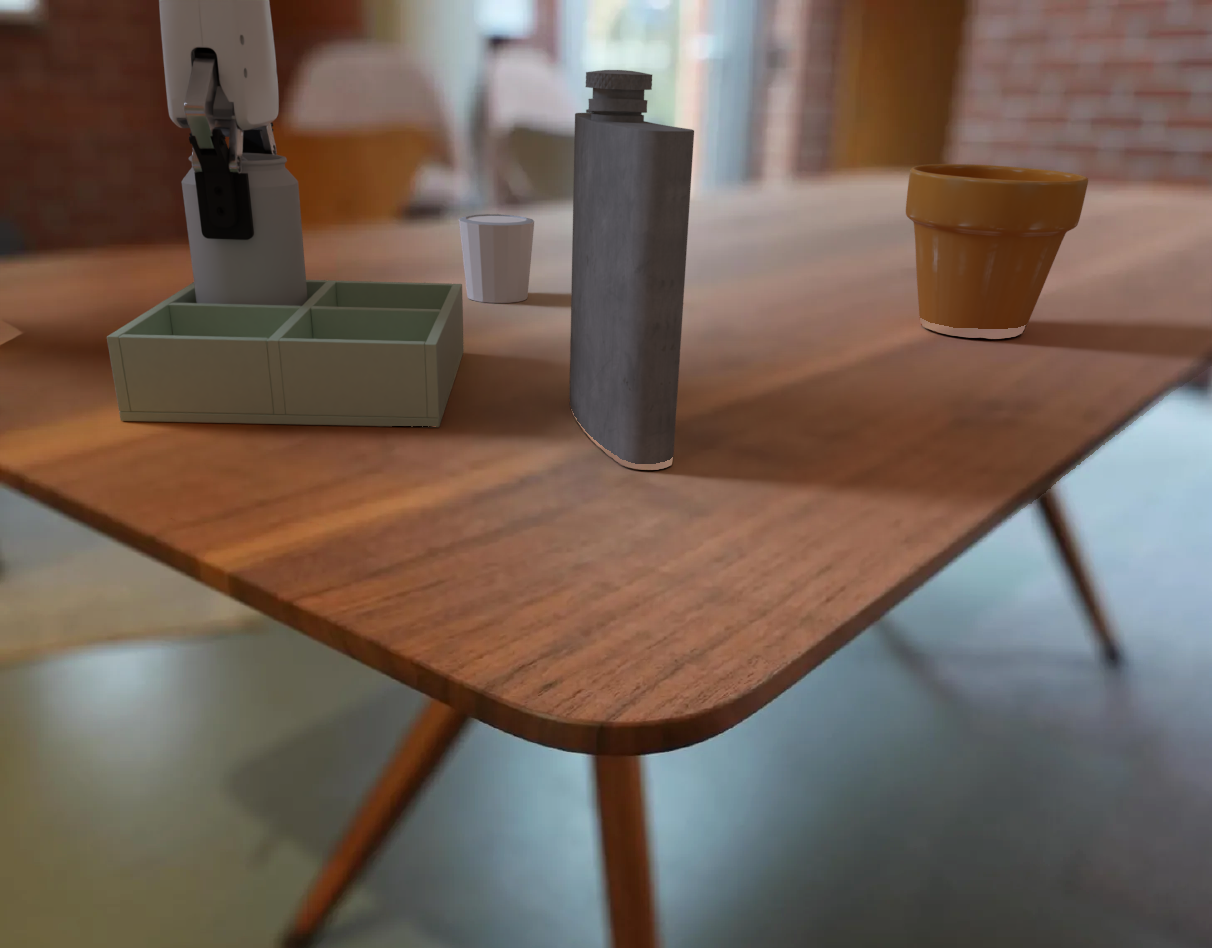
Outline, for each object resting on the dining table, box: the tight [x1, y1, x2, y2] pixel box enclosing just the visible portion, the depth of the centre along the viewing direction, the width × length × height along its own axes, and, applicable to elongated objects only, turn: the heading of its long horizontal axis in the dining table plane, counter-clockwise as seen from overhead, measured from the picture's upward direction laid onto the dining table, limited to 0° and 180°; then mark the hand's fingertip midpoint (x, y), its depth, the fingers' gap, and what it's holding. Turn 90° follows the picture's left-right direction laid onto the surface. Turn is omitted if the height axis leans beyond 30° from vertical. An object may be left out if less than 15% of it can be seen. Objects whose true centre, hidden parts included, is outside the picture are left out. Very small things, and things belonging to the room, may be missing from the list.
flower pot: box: [905, 163, 1089, 329], centre depth 95 cm, size 14×14×13 cm
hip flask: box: [568, 69, 695, 464], centre depth 64 cm, size 16×4×20 cm, turn 14°
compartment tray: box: [106, 279, 465, 428], centre depth 75 cm, size 19×19×5 cm
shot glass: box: [458, 213, 535, 304], centre depth 103 cm, size 7×7×7 cm
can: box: [181, 153, 308, 306], centre depth 76 cm, size 8×8×12 cm
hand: (244, 227), depth 76 cm, fingers closed on can, 7 cm apart
